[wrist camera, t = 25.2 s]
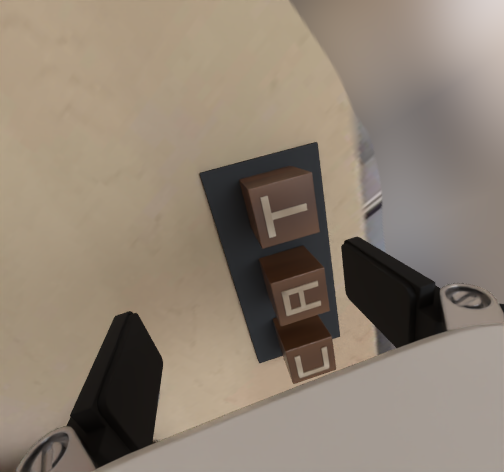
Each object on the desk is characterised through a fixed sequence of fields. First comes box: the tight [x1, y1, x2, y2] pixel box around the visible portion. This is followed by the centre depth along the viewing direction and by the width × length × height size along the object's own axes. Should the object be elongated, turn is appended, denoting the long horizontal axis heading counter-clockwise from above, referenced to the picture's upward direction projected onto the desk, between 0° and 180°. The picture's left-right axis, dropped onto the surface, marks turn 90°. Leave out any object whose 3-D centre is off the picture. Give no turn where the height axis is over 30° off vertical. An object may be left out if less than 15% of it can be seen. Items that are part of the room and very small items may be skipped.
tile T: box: [239, 166, 320, 249], centre depth 19 cm, size 4×4×5 cm
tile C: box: [273, 315, 336, 384], centre depth 25 cm, size 4×4×5 cm
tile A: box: [259, 245, 330, 326], centre depth 22 cm, size 4×4×5 cm
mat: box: [200, 142, 340, 363], centre depth 24 cm, size 22×10×1 cm, turn 14°
